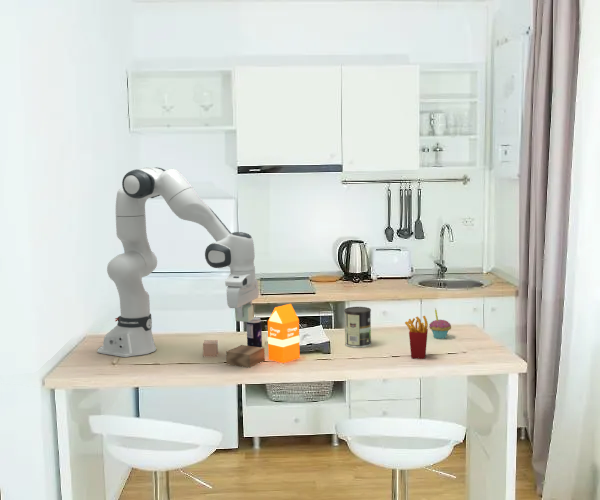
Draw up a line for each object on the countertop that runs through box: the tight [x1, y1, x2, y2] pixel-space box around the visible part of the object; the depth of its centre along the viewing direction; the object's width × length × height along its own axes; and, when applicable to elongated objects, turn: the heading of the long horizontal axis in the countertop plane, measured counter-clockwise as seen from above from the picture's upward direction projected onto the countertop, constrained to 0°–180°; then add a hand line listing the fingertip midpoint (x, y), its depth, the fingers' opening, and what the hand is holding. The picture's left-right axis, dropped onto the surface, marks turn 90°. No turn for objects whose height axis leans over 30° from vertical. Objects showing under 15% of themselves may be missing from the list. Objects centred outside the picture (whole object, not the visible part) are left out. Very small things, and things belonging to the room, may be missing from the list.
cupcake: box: [428, 308, 452, 340], centre depth 306 cm, size 9×8×12 cm
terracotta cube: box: [202, 339, 219, 358], centre depth 289 cm, size 5×5×5 cm
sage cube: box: [234, 304, 255, 323], centre depth 275 cm, size 5×5×5 cm
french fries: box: [404, 315, 429, 360], centre depth 280 cm, size 9×8×15 cm
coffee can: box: [344, 306, 372, 349], centre depth 298 cm, size 10×10×14 cm
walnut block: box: [225, 344, 266, 369], centre depth 278 cm, size 10×10×5 cm
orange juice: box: [267, 303, 301, 364], centre depth 280 cm, size 8×9×20 cm
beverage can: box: [246, 316, 263, 348], centre depth 295 cm, size 6×6×12 cm
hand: (244, 315), depth 275 cm, fingers closed on sage cube, 5 cm apart
